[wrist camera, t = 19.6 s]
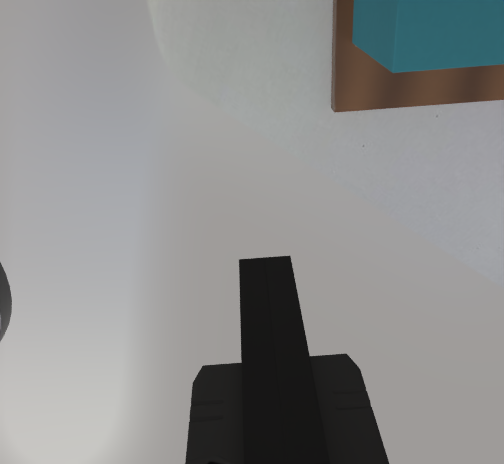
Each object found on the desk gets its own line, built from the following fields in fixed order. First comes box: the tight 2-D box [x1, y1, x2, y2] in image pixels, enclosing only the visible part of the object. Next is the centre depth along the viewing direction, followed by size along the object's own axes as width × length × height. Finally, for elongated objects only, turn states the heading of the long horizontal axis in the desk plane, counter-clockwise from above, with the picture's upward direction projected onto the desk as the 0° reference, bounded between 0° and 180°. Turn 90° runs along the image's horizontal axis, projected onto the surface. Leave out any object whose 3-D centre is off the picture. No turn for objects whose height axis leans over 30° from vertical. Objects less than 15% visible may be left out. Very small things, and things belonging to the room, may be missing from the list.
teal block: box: [352, 0, 504, 73], centre depth 26 cm, size 8×5×9 cm, turn 94°
